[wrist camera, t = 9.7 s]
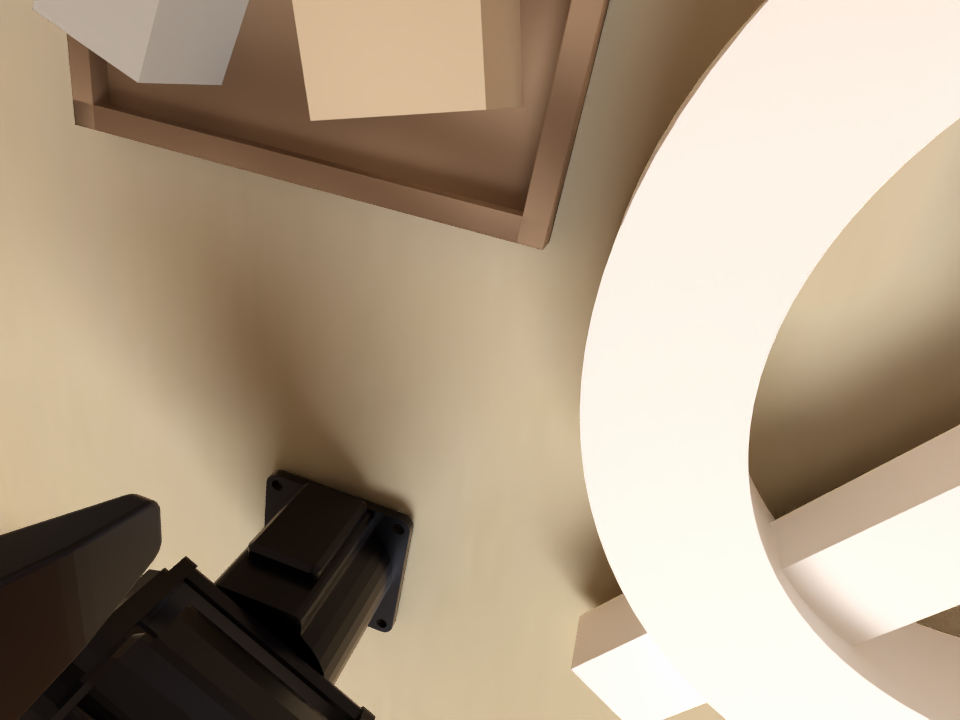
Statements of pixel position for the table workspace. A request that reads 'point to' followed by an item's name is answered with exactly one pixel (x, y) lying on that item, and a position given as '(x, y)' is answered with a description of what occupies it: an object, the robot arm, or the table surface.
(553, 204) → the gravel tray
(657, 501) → the ring with crossbar
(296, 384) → the table surface
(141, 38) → the beige cube
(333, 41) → the tan cube
